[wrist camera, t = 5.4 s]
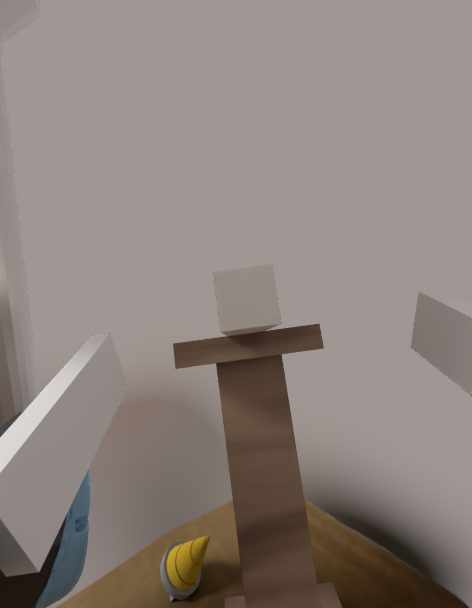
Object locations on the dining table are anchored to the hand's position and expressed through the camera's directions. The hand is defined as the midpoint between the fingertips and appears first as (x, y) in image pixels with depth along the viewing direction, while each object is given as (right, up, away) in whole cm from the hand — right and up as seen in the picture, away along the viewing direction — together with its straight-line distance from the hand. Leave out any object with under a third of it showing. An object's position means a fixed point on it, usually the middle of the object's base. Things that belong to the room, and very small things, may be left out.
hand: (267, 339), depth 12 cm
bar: (-1, -1, +13) cm, 13 cm away
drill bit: (-7, -34, +22) cm, 42 cm away
